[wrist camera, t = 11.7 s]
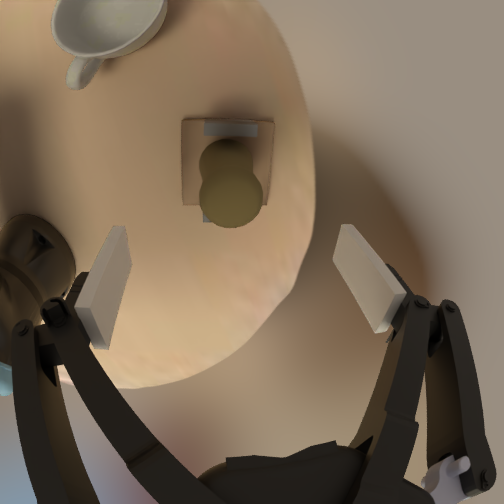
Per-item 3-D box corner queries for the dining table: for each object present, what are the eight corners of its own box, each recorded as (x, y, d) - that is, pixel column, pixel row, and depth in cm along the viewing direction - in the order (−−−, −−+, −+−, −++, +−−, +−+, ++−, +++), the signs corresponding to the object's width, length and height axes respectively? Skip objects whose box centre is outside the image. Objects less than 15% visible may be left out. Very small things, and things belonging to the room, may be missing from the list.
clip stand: (183, 202, 33) (179, 222, 29) (182, 117, 27) (177, 123, 23) (264, 202, 35) (272, 222, 30) (273, 120, 29) (283, 126, 24)
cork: (187, 165, 29) (176, 206, 20) (227, 127, 28) (235, 150, 19) (224, 199, 32) (231, 252, 23) (263, 165, 31) (287, 206, 22)
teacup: (122, -29, 15) (99, -53, 8) (196, 2, 20) (191, -23, 13) (55, 67, 20) (17, 69, 14) (122, 101, 25) (94, 107, 18)
